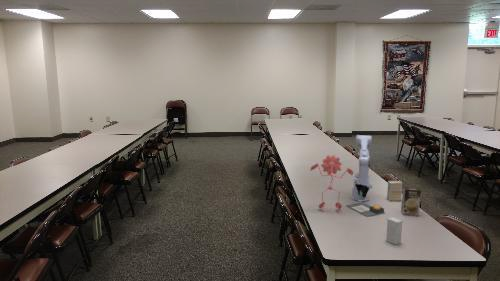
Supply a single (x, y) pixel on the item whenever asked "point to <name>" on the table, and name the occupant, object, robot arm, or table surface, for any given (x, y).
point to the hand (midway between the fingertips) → (362, 196)
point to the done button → (376, 207)
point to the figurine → (331, 167)
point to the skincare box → (394, 230)
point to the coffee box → (410, 201)
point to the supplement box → (394, 191)
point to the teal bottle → (361, 195)
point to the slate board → (366, 209)
